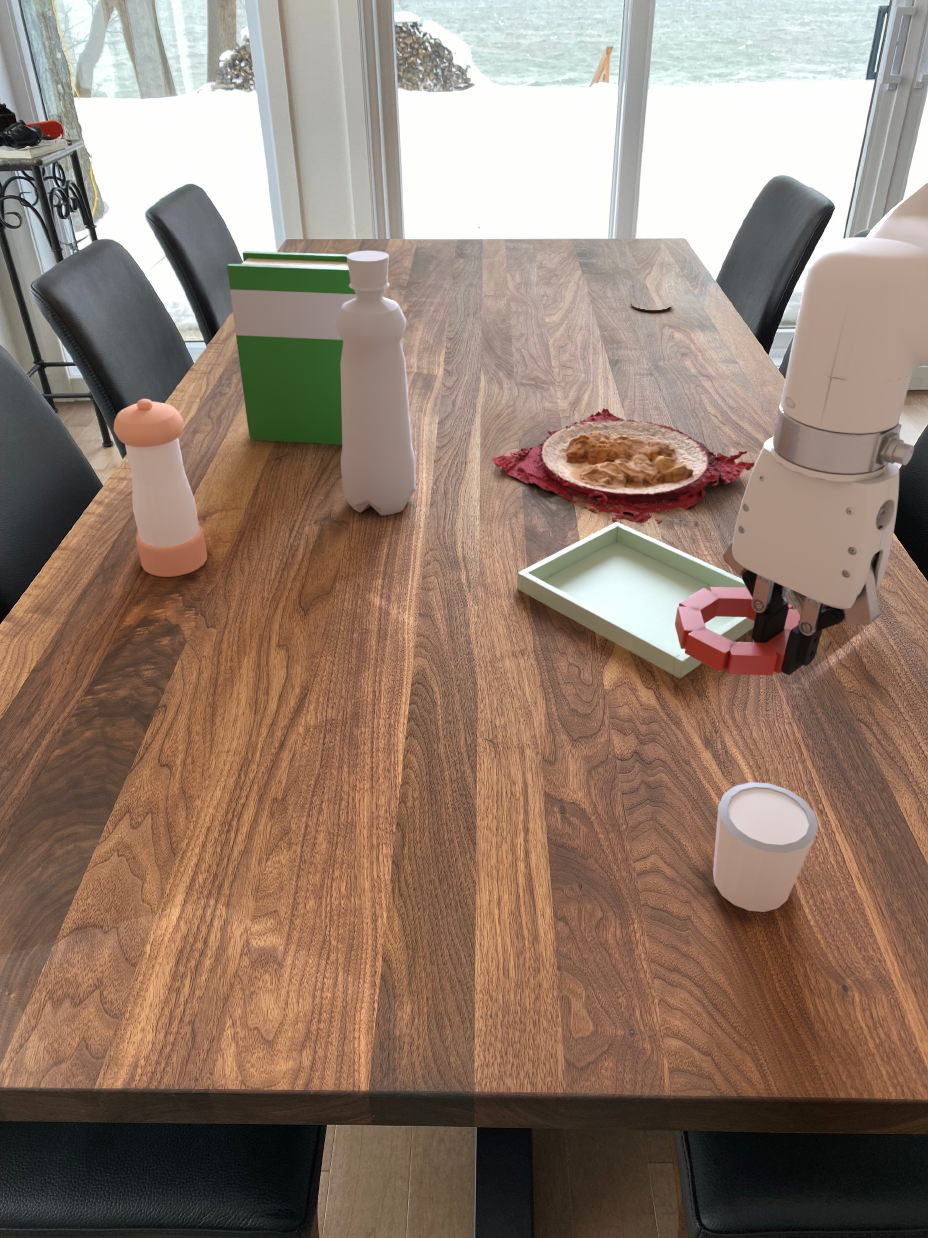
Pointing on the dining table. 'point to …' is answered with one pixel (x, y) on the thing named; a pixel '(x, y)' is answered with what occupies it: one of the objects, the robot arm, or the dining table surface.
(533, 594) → the tray
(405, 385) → the bottle
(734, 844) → the white cylinder
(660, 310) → the dark curved strip
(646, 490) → the plate with food
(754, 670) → the ring
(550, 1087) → the dining table surface
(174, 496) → the pepper shaker
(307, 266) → the hardback book
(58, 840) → the dining table surface
